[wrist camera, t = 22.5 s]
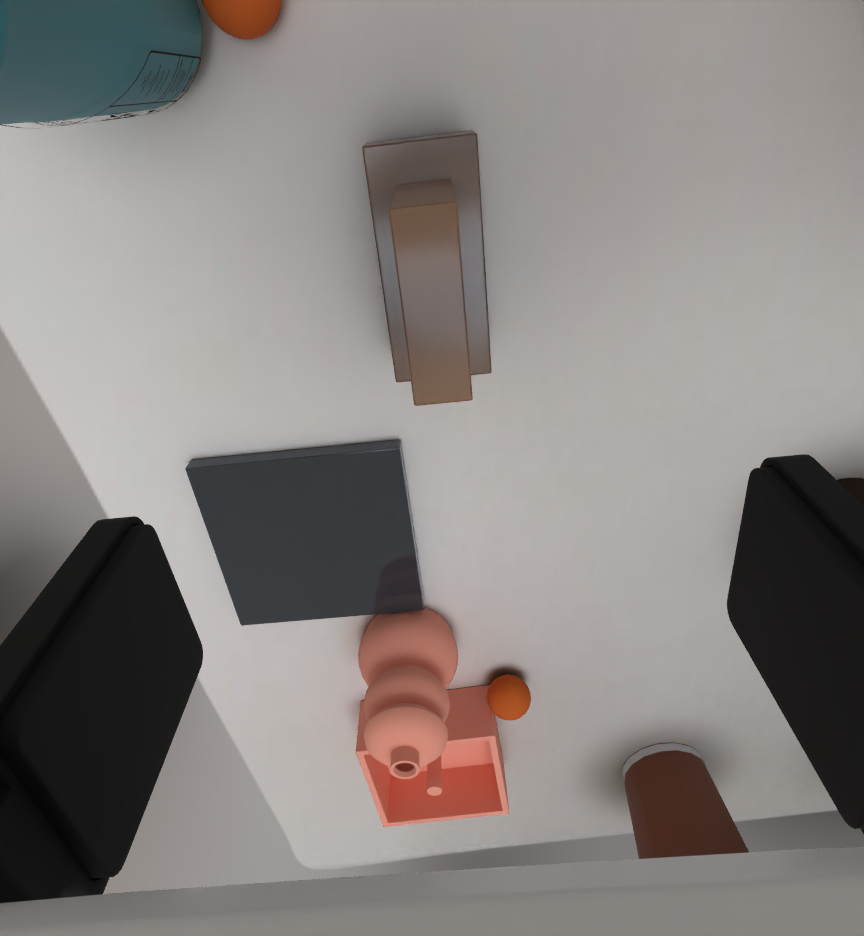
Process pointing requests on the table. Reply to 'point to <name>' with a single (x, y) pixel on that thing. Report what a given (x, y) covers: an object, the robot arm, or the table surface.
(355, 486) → the slate tile
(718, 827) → the coffee cup
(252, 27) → the felt ball
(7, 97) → the beverage bottle
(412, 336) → the brush
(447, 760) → the pottery
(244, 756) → the table surface
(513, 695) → the felt ball
